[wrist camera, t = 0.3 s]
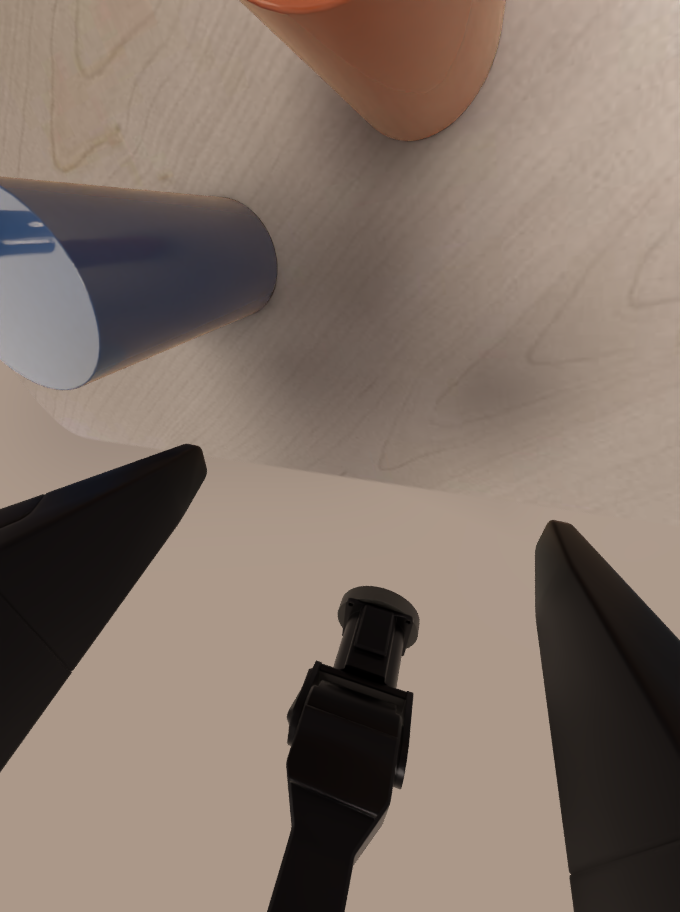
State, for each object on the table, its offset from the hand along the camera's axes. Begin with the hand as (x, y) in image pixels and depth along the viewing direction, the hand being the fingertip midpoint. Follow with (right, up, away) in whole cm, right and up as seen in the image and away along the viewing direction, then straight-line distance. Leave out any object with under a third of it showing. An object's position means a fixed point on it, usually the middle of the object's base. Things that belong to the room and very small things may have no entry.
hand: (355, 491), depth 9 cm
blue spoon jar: (-7, +13, +13) cm, 20 cm away
